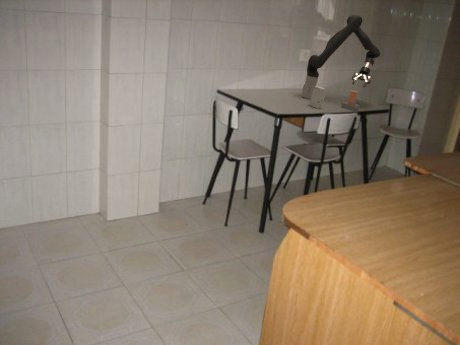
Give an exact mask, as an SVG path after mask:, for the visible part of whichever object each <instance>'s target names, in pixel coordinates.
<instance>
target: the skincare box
mask: <svg viewBox="0 0 460 345" xmlns="http://www.w3.org/2000/svg"><path fill="white" fill-rule="evenodd" d="M327 90H328V89H327V88H325V87H322V86H320V85H316V86H314V89H313V92H312V96H311V99H309V103H308V106H309V107H313V108H316V109H322V107H323V104H324V100H325V96H326V93H327Z"/></svg>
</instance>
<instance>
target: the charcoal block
mask: <svg viewBox="0 0 460 345" xmlns="http://www.w3.org/2000/svg"><path fill="white" fill-rule="evenodd" d="M360 106H361V105H360V104H358V103H355V104H354V105H351V104H348V101H344V102H342V103H341V106H340V107H341V109H346V110H348V111H352V112H357V111H359V109H360Z"/></svg>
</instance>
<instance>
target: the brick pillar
mask: <svg viewBox="0 0 460 345" xmlns="http://www.w3.org/2000/svg"><path fill="white" fill-rule="evenodd" d="M358 93H359V91H357V90H353V89H352V90H350V93H349V97H348V101H347V102H348V104H351V105H354V104H356V101H357V97H358V95H359V94H358Z"/></svg>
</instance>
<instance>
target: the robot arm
mask: <svg viewBox="0 0 460 345" xmlns="http://www.w3.org/2000/svg"><path fill="white" fill-rule="evenodd" d="M362 23H363V18H362V16H360V15H357V14H356V15H355V14H354V15H349V16H348V17H347V18H346V26H344V27H343V28H342V29H341V30H339V31H338V32H336V33H334V35H333V36H331V37H330V38H329V40H328V42H327V43H326V46H325V48H324V49H323V51H322V52H321V53H320V54H319V55H317V54H313V55H311V56H310V57H309V59H308V62H307V68H306V78H305V80H304V84H303V86H302V89H301V90H302V91H301V95H300V96H301V97H302V98H304V99H308V100H310V99H311V96H312V92H313V89H314V86H318V85H317V84H318V80H319V76H320V74H319V71H318V69H321V68H322V67H323V66H324V65H325V64H326V62H327V61H328V60H329V59H330V57H331V56H332V55H333V54H334V53H335V52H336V51H337V50H338V49H339V48H340V46H342V44H343V43H345V41H346V40H348V38H349V37H350V36H351V35H352V34H353V33H354V35H355V36H356V37H357V39H358V41H359V42H360V44H361V45H362V47H363V48H364V50H365V51H367V52H366V54H365V60H364V62H363V64H362V66H361V68H360V70H359V71H358V73H357V72H353V75H352V76H351V80H352V82H351V83H352V85H353V86H354V85H355V83H356V81H364V84H363V86H362V87H363V88H365V87H366V86H367V85H370V84H371V82H372V75H370V73H371V72H372V68H373V65H374V64H375V59H376V58H379V57H380V56H381V51H380V49H379V48H378V47H377V46H376V45H375V44H373V41H372V40H371V39H370V37H369V36H368V34H367V33H365V31H363V29H362V28H361V26H362ZM369 75H370V76H369ZM367 79H368V80H367Z"/></svg>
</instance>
